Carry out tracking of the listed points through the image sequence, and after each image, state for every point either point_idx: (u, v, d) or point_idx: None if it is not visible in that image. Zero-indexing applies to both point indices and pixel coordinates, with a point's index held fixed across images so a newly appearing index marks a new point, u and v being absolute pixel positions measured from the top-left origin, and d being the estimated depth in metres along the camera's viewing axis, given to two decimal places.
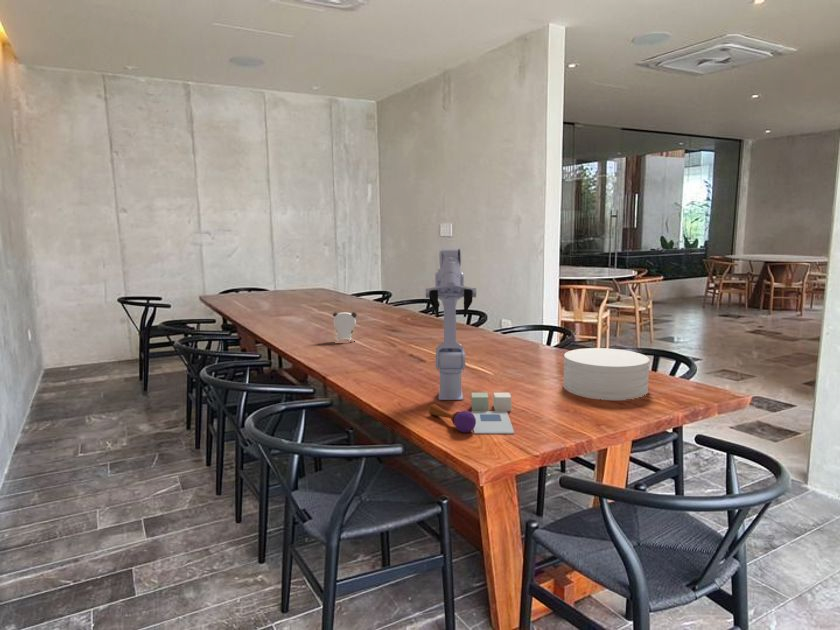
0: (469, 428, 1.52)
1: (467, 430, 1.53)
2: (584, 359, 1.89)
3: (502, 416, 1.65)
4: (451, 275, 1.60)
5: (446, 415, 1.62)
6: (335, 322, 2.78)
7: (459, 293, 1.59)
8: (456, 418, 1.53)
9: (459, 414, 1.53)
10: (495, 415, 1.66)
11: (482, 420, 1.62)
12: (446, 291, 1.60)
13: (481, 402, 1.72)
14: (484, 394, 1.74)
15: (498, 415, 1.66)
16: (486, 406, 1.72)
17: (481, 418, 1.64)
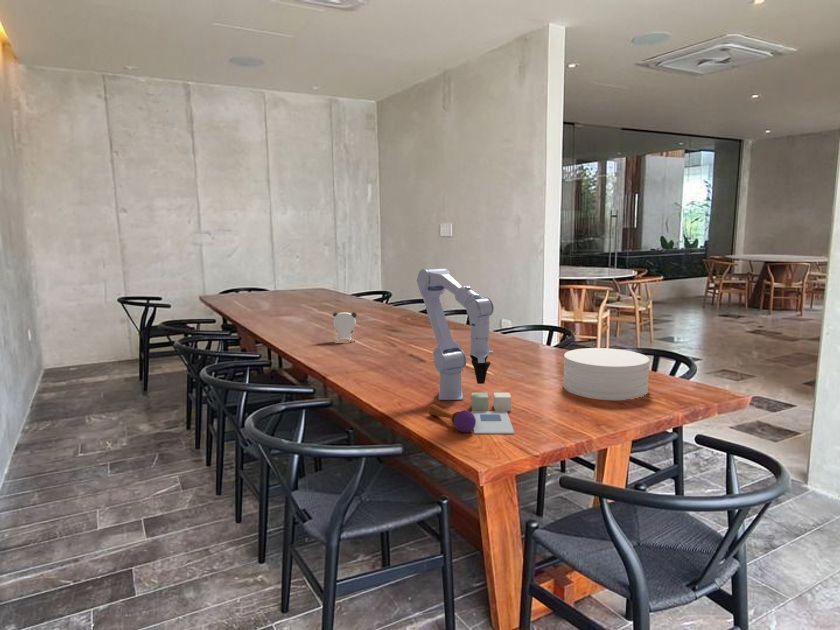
0: (469, 428, 1.52)
1: (467, 430, 1.53)
2: (584, 359, 1.89)
3: (502, 416, 1.65)
4: None
5: (446, 415, 1.62)
6: (335, 322, 2.78)
7: None
8: (456, 418, 1.53)
9: (459, 414, 1.53)
10: (495, 415, 1.66)
11: (482, 420, 1.62)
12: None
13: (481, 402, 1.72)
14: (484, 394, 1.74)
15: (498, 415, 1.66)
16: (486, 406, 1.72)
17: (481, 418, 1.64)
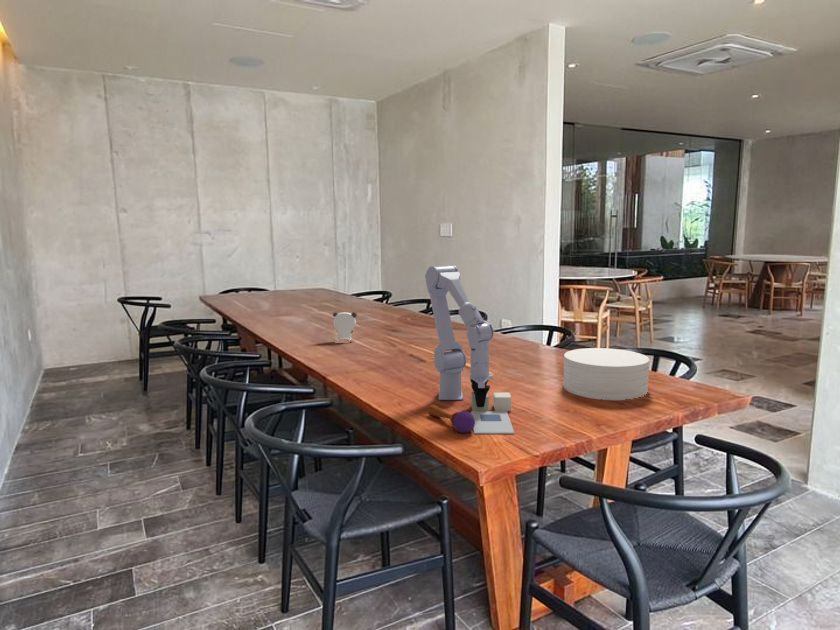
0: (468, 429, 1.52)
1: (466, 431, 1.53)
2: (584, 359, 1.89)
3: (502, 416, 1.65)
4: None
5: (445, 415, 1.62)
6: (335, 322, 2.78)
7: None
8: (455, 418, 1.53)
9: (458, 414, 1.53)
10: (495, 415, 1.66)
11: (482, 420, 1.62)
12: None
13: None
14: None
15: (498, 415, 1.66)
16: (486, 406, 1.72)
17: (481, 418, 1.64)
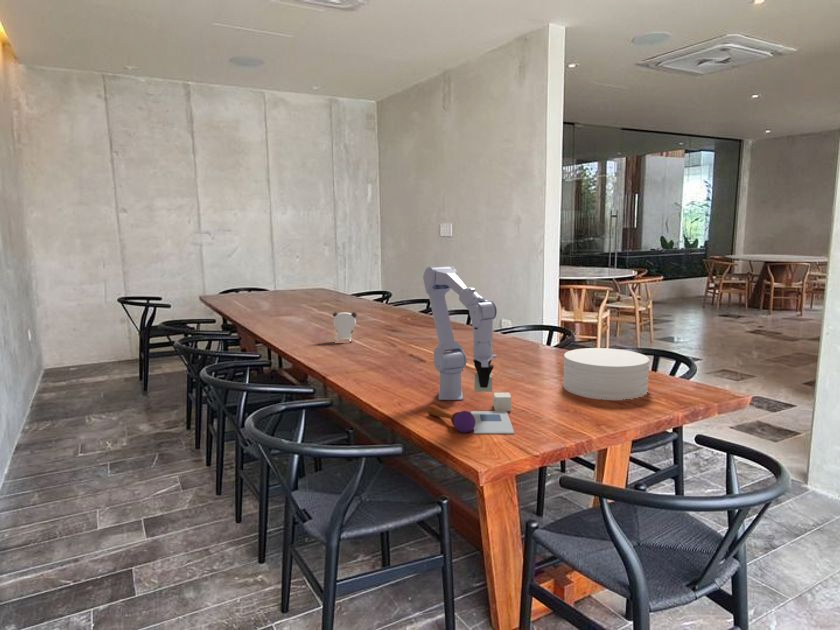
0: (469, 428, 1.52)
1: (467, 430, 1.53)
2: (584, 359, 1.89)
3: (502, 416, 1.65)
4: None
5: (445, 415, 1.62)
6: (335, 322, 2.78)
7: None
8: (456, 418, 1.54)
9: (459, 414, 1.54)
10: (495, 415, 1.66)
11: (482, 420, 1.62)
12: None
13: None
14: None
15: (498, 415, 1.66)
16: (490, 386, 1.68)
17: (481, 418, 1.64)
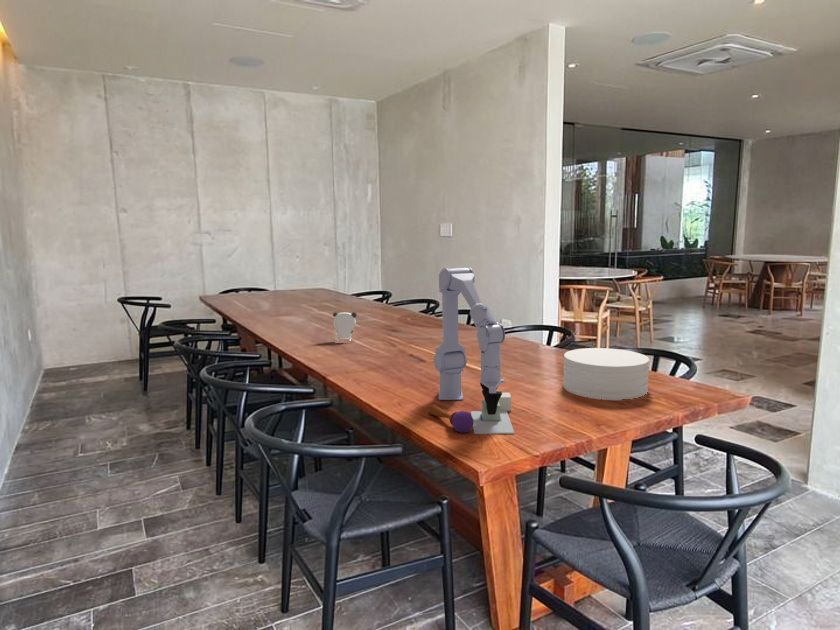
0: (466, 428, 1.52)
1: (464, 430, 1.53)
2: (584, 359, 1.89)
3: (502, 416, 1.65)
4: None
5: (444, 415, 1.62)
6: (335, 322, 2.78)
7: None
8: (454, 418, 1.54)
9: (457, 414, 1.54)
10: None
11: (482, 420, 1.62)
12: None
13: None
14: None
15: None
16: (497, 415, 1.62)
17: (481, 418, 1.64)
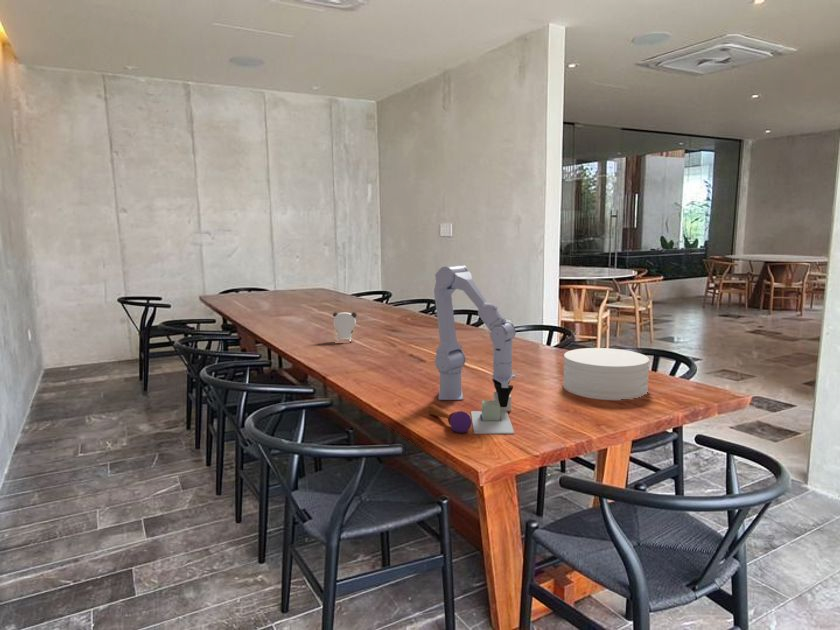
0: (464, 429, 1.52)
1: (462, 431, 1.53)
2: (584, 359, 1.89)
3: (502, 416, 1.65)
4: None
5: (443, 415, 1.62)
6: (335, 322, 2.78)
7: None
8: (452, 418, 1.54)
9: (455, 414, 1.54)
10: None
11: (482, 420, 1.62)
12: None
13: (492, 411, 1.62)
14: (495, 402, 1.64)
15: None
16: (497, 415, 1.62)
17: (481, 418, 1.64)
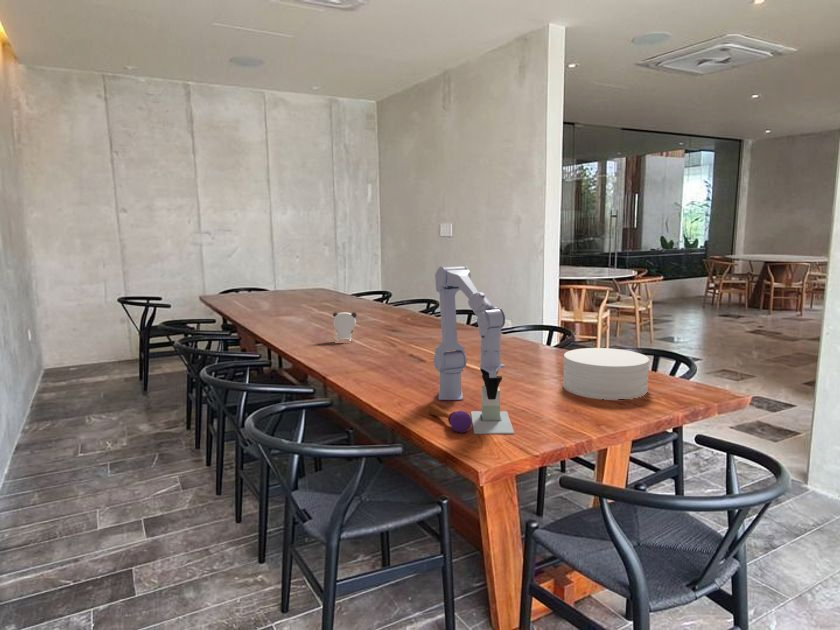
0: (464, 428, 1.53)
1: (462, 430, 1.53)
2: (584, 359, 1.89)
3: (502, 416, 1.65)
4: None
5: (443, 415, 1.62)
6: (335, 322, 2.78)
7: None
8: (452, 418, 1.54)
9: (455, 414, 1.54)
10: None
11: (482, 420, 1.62)
12: None
13: (492, 411, 1.62)
14: None
15: None
16: (497, 415, 1.62)
17: (481, 418, 1.64)
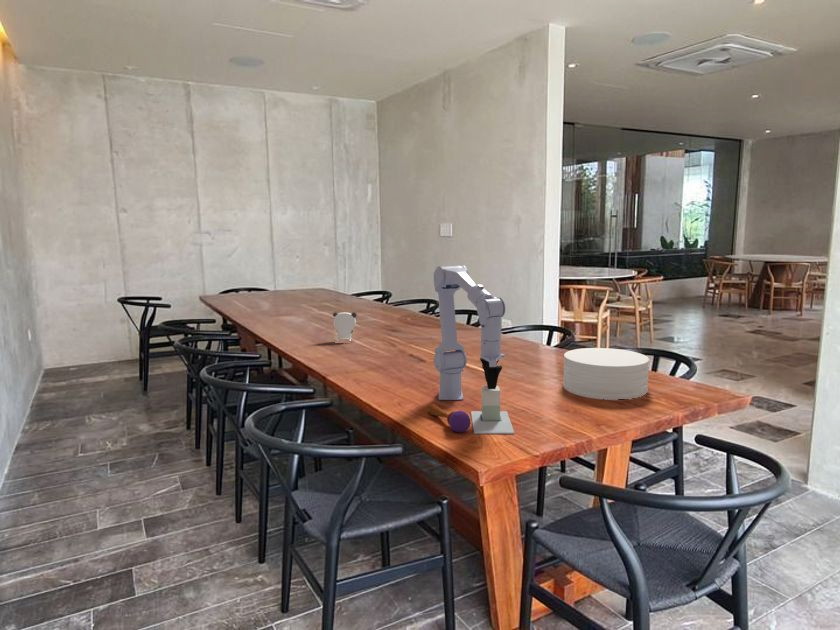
0: (463, 428, 1.53)
1: (461, 430, 1.53)
2: (584, 359, 1.89)
3: (502, 416, 1.65)
4: None
5: (443, 415, 1.62)
6: (335, 322, 2.78)
7: None
8: (450, 418, 1.54)
9: (454, 414, 1.54)
10: None
11: (482, 420, 1.62)
12: None
13: (492, 411, 1.62)
14: None
15: None
16: (497, 415, 1.62)
17: (481, 418, 1.64)
